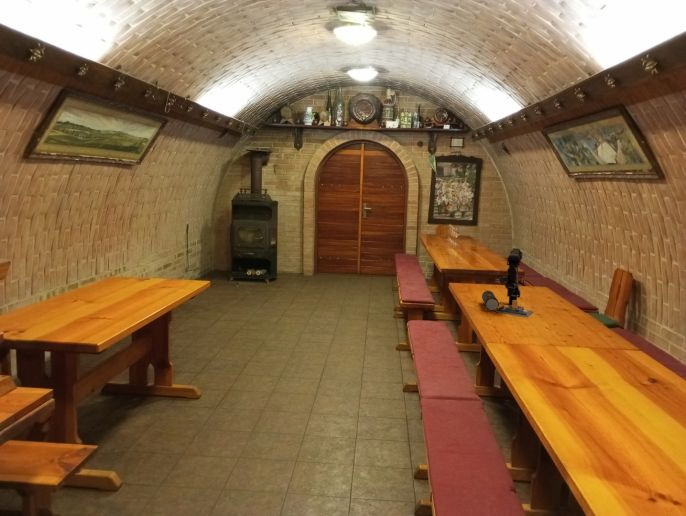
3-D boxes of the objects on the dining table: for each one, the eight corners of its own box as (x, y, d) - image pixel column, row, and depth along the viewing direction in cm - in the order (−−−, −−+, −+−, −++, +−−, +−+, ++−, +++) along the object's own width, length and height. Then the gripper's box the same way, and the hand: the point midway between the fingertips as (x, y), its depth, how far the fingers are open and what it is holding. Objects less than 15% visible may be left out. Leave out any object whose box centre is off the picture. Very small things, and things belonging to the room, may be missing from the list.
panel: (502, 307, 402) (502, 306, 401) (533, 313, 390) (533, 311, 390) (495, 312, 388) (495, 310, 388) (527, 317, 377) (527, 315, 377)
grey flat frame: (502, 306, 400) (502, 305, 400) (531, 311, 390) (531, 309, 389) (496, 310, 388) (496, 308, 388) (526, 315, 377) (526, 313, 377)
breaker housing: (510, 308, 397) (510, 304, 397) (527, 310, 391) (527, 307, 390) (505, 311, 386) (505, 308, 386) (522, 314, 380) (523, 310, 379)
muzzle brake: (494, 304, 413) (494, 290, 412) (499, 312, 386) (499, 298, 384) (481, 303, 415) (481, 289, 413) (484, 312, 387) (485, 297, 386)
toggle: (512, 309, 391) (513, 299, 390) (517, 310, 389) (518, 300, 388) (511, 310, 389) (512, 300, 388) (516, 311, 387) (517, 301, 386)
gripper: (502, 270, 393) (500, 292, 395) (498, 273, 376) (496, 296, 378) (518, 272, 388) (516, 294, 390) (515, 275, 371) (513, 298, 373)
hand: (510, 295), depth 383 cm, fingers open, 9 cm apart
